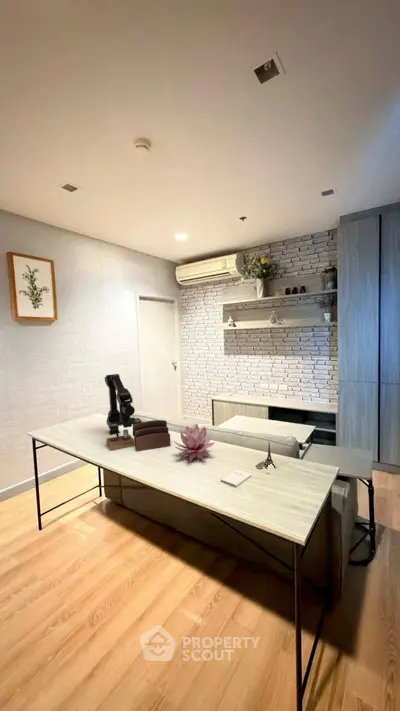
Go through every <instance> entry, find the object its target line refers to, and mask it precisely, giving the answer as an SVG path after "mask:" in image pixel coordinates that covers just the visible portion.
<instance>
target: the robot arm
mask: <svg viewBox="0 0 400 711" xmlns="http://www.w3.org/2000/svg"><path fill="white" fill-rule="evenodd" d="M104 382H105V385H106V387H107V388H108V396H109V397H108V398H109V399H108V400H109V411H108V413H107V418H106V425H107V426H108V428H109V431H108V433H109V435H111V436H112V435H116V437H117V438H118V439H119V436H120V435H119V434H121V431H120V429H119V427H122V426H123V428H124V429H126V428H131V427H132V436H133V437H134V425H135V424H137V423H141V422H143V421H142V419H140V417H136V418H135V417H131V416H133V415H134V414H135V413H136V411H135V410H136V409H135V407H134V405H132V403H134V401H133V400H134V399H133V396H132V394H131V392H130V391H129V389H128V388H126V387H125V386H124V383H123V382H122V379H121V378H120V374H119V373H114V374H107V375H106V376H104ZM118 405H119V406H118ZM118 407H119V409H118Z"/></svg>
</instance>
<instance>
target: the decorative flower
mask: <svg viewBox="0 0 400 711" xmlns="http://www.w3.org/2000/svg"><path fill="white" fill-rule="evenodd" d="M180 430H182V429H181V428H180ZM206 437H207V428H206V426H204V427H202V429H201V430H200V428H199V424H196V425H195V426H194V428H193V430H192V431H191V430H190V428H189V426H188V425H186V428H185V434H184V433H183V431H180V439H181V441H182V443H183V445H182V444H180V443H178V442H176V441H175V440H173V443H175V444H176V445H177V446H178V447H177V446H175V448H176V449H177V450H179V451H183V452H179V454H181V455H182V454H184V455H183V456H181V457H180V459H184V458H186V457H187V459H189V462H191V461H193V460H194V458H196V459H197V460H199V459H201V460H204V459H205V458H204V456H211V454H210V453H209V452H207V451H208V449H209V448H211V447H213V445H214V444H215V442H210V441H211V439H212V436H209V437H207V438H206ZM180 447H181V448H180Z"/></svg>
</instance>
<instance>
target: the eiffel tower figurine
mask: <svg viewBox="0 0 400 711" xmlns="http://www.w3.org/2000/svg"><path fill="white" fill-rule="evenodd" d="M270 444H271V443H270V442H268V448H267V450H268V452H267V457H266V458H265V459H264V460H262V461H261V462H259V463H258V464H255V468H256V470H260V471H262V470H264V469H265V470H269V469H268V468H267V467H268V465H270V464H272V465H273V466H274V469H277V467H276V465H275V463H274V460H273V459H272V455H271V447H270V446H271V445H270ZM269 458H270V459H269ZM273 463H274V464H273ZM263 467H264V468H263ZM261 469H262V470H261ZM268 473H269V472H267V473H266V474H267V475H269V474H268Z"/></svg>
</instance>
